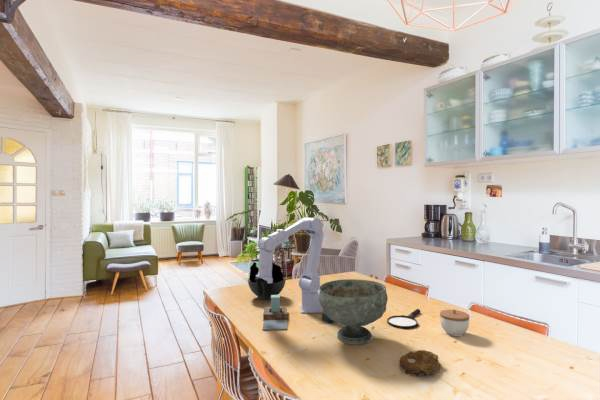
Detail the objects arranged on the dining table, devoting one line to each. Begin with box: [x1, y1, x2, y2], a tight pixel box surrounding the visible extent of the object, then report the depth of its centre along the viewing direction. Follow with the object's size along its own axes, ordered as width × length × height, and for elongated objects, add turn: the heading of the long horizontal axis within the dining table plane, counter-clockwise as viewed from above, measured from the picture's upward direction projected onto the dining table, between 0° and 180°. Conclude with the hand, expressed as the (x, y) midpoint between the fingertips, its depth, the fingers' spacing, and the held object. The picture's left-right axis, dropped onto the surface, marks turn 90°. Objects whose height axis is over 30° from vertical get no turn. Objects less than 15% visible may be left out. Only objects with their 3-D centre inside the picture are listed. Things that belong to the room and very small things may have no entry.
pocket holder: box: [262, 306, 288, 321], centre depth 161 cm, size 10×10×2 cm
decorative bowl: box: [318, 278, 389, 345], centre depth 136 cm, size 26×26×20 cm
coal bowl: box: [247, 261, 287, 299], centre depth 189 cm, size 20×20×19 cm
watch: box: [321, 312, 335, 324], centre depth 154 cm, size 6×8×11 cm
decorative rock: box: [398, 349, 442, 377], centre depth 113 cm, size 11×4×15 cm
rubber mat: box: [262, 319, 288, 331], centre depth 149 cm, size 10×10×1 cm
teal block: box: [270, 294, 281, 312], centre depth 161 cm, size 4×4×9 cm
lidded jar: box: [439, 309, 470, 337], centre depth 140 cm, size 11×11×9 cm
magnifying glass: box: [386, 308, 421, 330], centre depth 155 cm, size 12×24×2 cm, turn 140°
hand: (263, 296), depth 154 cm, fingers open, 7 cm apart
